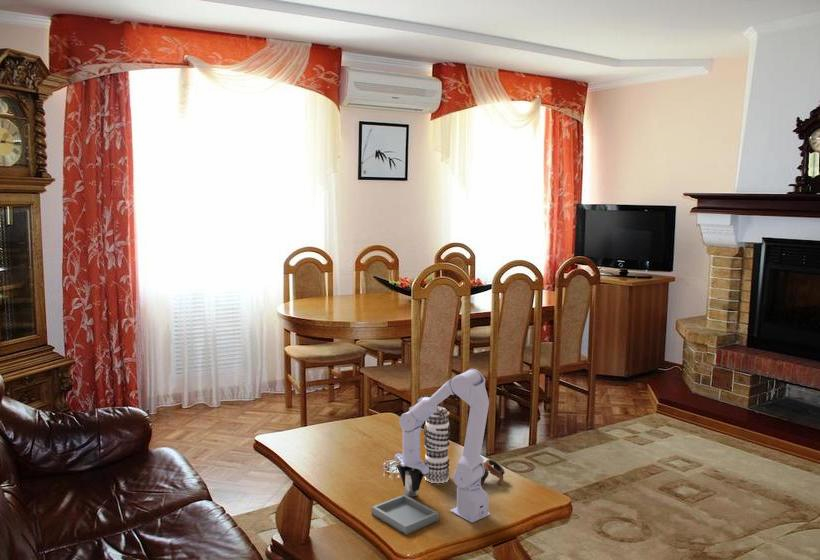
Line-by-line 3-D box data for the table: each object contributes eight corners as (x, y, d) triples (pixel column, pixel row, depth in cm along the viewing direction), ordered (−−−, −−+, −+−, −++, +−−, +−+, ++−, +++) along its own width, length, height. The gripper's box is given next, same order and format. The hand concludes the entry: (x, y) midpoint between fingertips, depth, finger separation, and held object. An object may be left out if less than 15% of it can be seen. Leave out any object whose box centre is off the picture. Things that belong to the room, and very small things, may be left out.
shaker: (420, 494, 218) (420, 470, 217) (410, 498, 215) (410, 474, 214) (411, 490, 221) (412, 466, 220) (402, 493, 218) (402, 470, 217)
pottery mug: (478, 474, 236) (490, 455, 234) (498, 493, 231) (511, 473, 230) (463, 478, 225) (476, 458, 224) (484, 497, 221) (497, 477, 219)
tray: (438, 520, 202) (438, 512, 201) (405, 535, 193) (405, 526, 193) (404, 501, 214) (404, 494, 213) (371, 514, 205) (371, 506, 205)
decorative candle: (452, 474, 234) (453, 405, 231) (446, 486, 225) (447, 413, 222) (427, 471, 236) (427, 402, 233) (420, 482, 228) (420, 411, 224)
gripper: (387, 444, 219) (387, 483, 221) (416, 457, 208) (416, 499, 210) (404, 439, 223) (404, 478, 225) (433, 451, 212) (433, 492, 214)
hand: (411, 488), depth 218 cm, fingers closed on shaker, 4 cm apart
